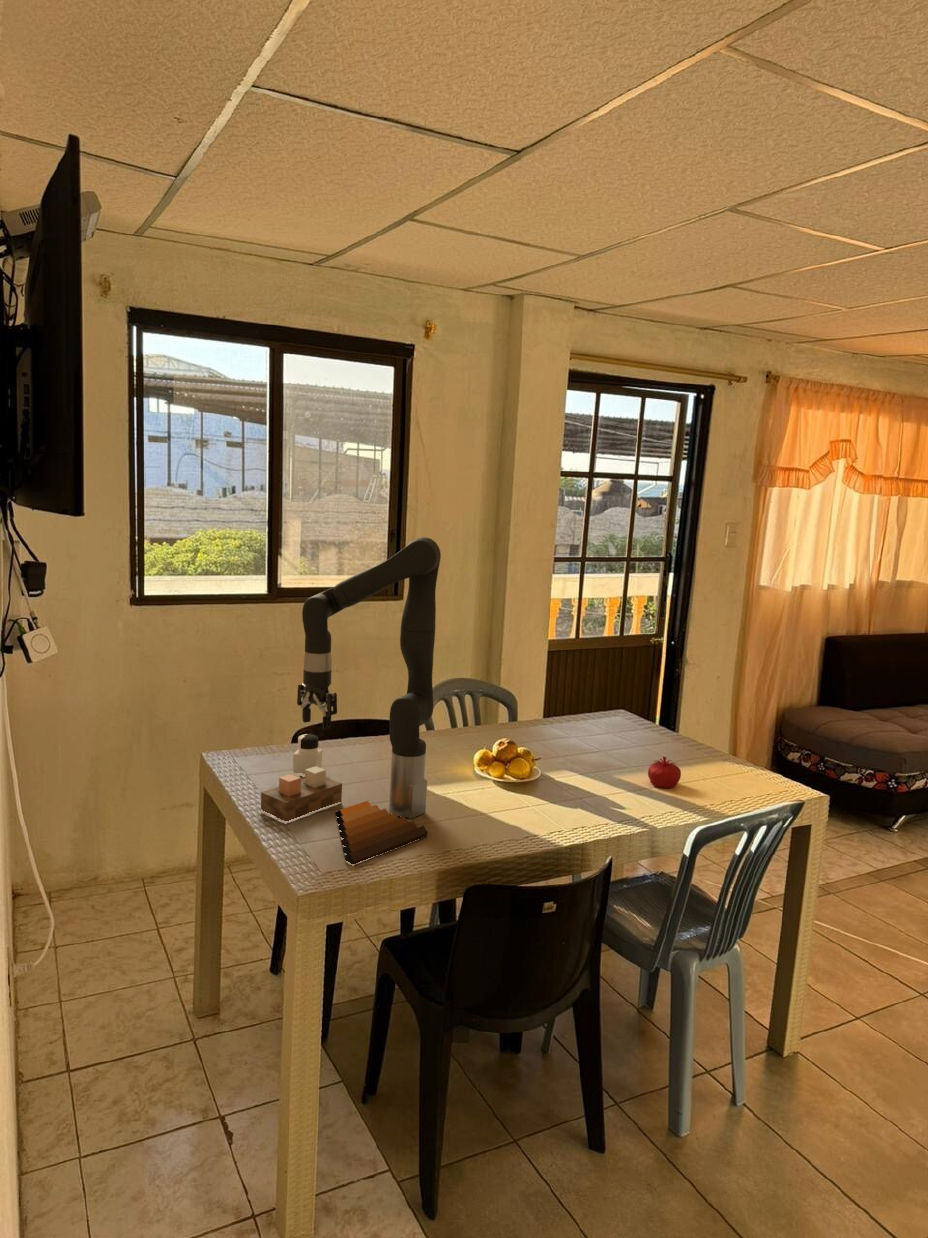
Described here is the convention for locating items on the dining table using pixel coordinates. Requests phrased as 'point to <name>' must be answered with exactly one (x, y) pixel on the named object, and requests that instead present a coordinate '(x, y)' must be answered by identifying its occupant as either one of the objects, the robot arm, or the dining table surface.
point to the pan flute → (373, 831)
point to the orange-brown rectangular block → (289, 785)
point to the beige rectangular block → (315, 777)
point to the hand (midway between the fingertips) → (316, 725)
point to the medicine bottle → (307, 754)
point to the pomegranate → (664, 774)
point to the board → (301, 800)
